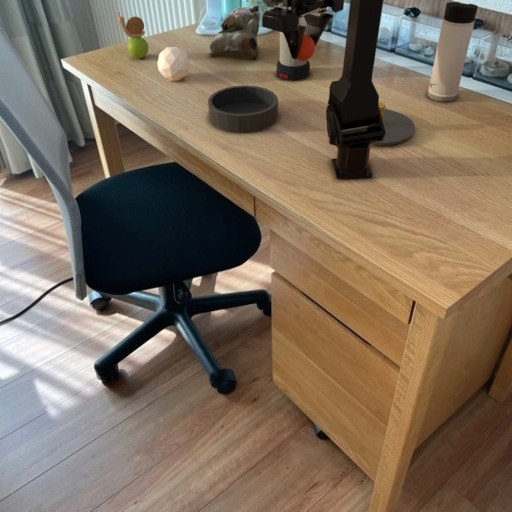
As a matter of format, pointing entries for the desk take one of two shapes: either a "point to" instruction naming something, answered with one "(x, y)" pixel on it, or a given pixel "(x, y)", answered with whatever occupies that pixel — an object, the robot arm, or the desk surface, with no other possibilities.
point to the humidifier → (291, 61)
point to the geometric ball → (173, 63)
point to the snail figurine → (135, 36)
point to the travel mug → (451, 51)
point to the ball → (306, 48)
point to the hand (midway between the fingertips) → (302, 55)
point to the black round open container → (243, 109)
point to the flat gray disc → (394, 127)
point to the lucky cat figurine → (238, 34)
